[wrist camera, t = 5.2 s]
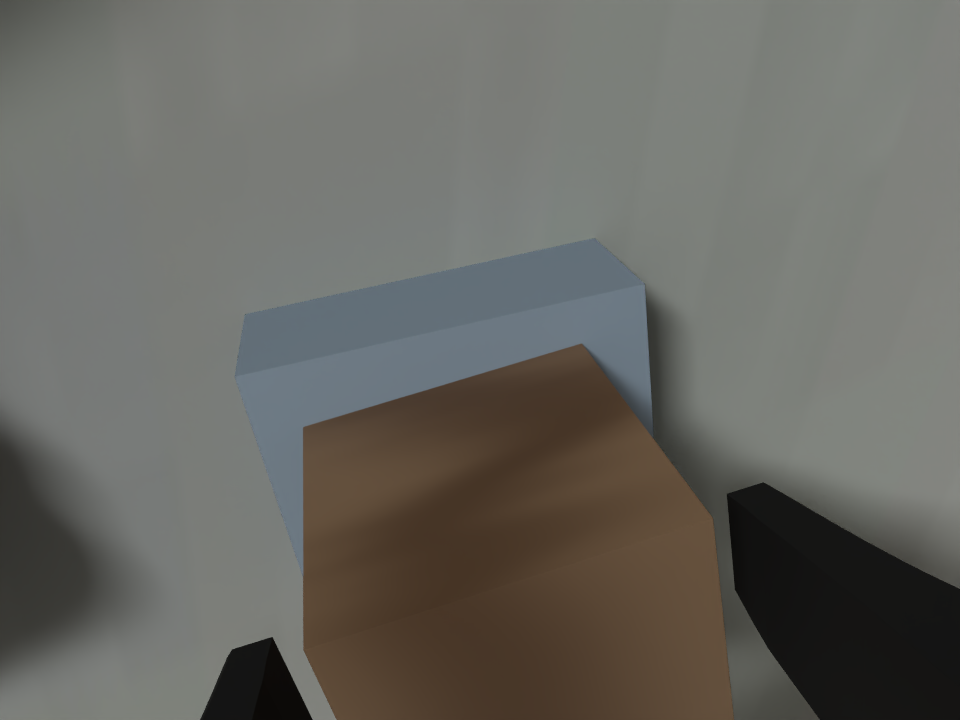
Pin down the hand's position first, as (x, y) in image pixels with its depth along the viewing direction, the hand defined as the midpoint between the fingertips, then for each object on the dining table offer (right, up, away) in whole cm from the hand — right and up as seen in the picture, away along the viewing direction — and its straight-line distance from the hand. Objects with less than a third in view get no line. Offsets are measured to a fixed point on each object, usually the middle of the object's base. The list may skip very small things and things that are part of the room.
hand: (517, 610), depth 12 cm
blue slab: (-1, +3, +5) cm, 6 cm away
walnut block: (-1, +1, +3) cm, 3 cm away
